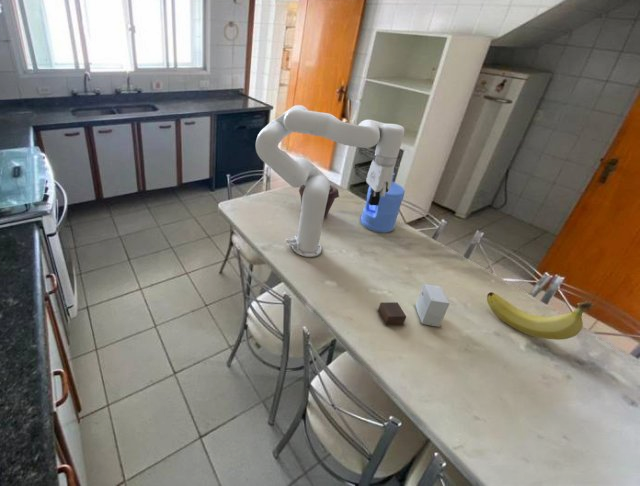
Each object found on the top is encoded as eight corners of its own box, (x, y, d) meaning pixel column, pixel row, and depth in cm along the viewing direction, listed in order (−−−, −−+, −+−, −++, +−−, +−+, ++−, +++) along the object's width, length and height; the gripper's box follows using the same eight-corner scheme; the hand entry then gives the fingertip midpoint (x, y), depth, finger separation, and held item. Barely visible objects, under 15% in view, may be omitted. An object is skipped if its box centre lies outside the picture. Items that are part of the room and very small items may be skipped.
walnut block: (385, 325, 107) (388, 316, 105) (377, 310, 112) (380, 302, 110) (403, 325, 107) (406, 316, 105) (394, 310, 113) (397, 302, 111)
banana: (478, 309, 115) (501, 265, 106) (484, 302, 118) (507, 258, 109) (560, 358, 99) (596, 310, 90) (565, 349, 102) (600, 302, 93)
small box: (439, 327, 107) (450, 304, 102) (421, 324, 108) (431, 300, 103) (431, 309, 114) (441, 286, 109) (414, 306, 115) (423, 283, 110)
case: (338, 224, 161) (345, 192, 153) (297, 222, 161) (302, 189, 153) (330, 206, 177) (336, 176, 169) (293, 204, 177) (297, 174, 169)
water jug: (392, 220, 167) (407, 169, 155) (394, 236, 154) (411, 182, 141) (360, 213, 171) (372, 164, 159) (360, 229, 158) (373, 176, 145)
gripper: (366, 151, 122) (356, 194, 131) (383, 167, 109) (371, 214, 117) (385, 152, 123) (374, 195, 131) (405, 167, 110) (391, 214, 118)
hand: (373, 204), depth 124 cm, fingers closed
